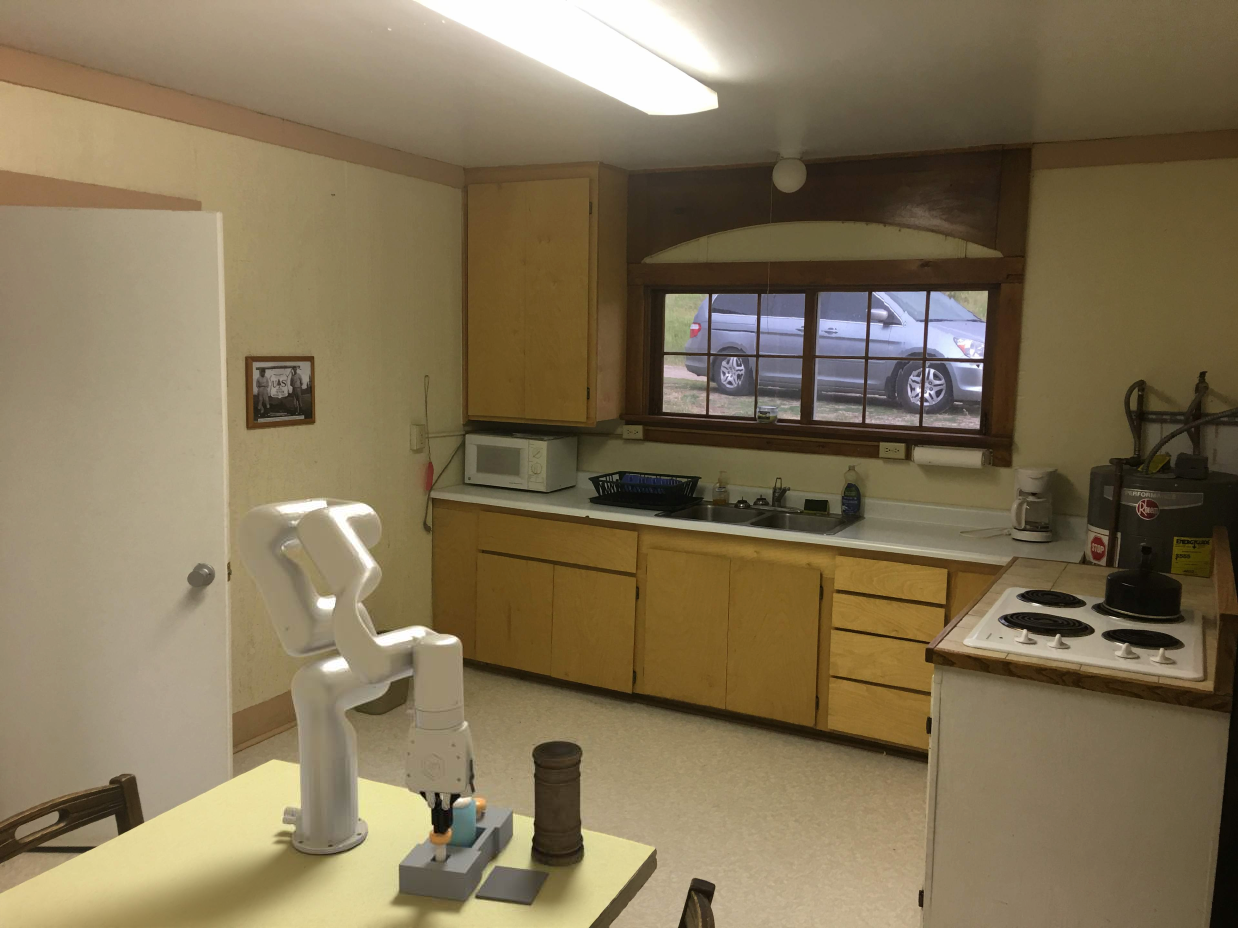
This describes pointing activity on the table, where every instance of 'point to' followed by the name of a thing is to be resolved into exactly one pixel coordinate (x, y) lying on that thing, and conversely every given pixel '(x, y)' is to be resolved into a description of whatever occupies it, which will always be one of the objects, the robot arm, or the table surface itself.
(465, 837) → the cartridge
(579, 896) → the table surface
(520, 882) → the mat
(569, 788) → the container
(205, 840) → the table surface
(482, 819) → the housing
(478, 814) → the orange mushroom peg
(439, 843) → the plunger
